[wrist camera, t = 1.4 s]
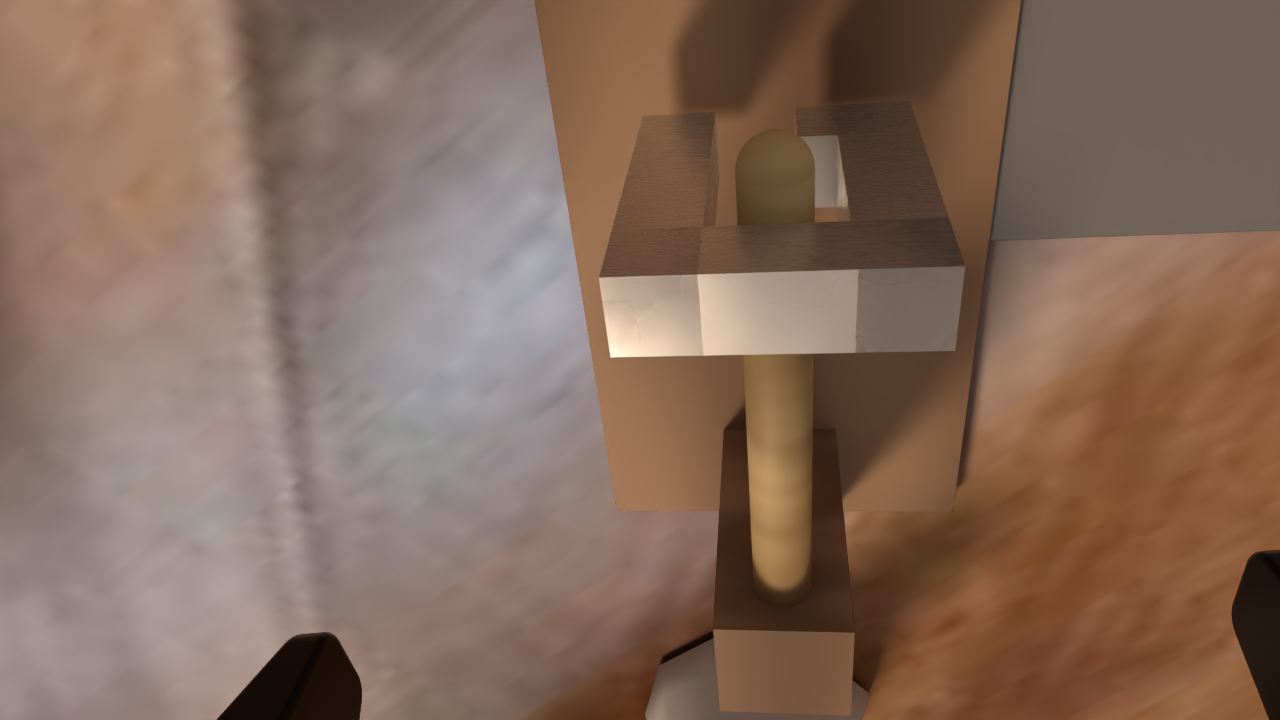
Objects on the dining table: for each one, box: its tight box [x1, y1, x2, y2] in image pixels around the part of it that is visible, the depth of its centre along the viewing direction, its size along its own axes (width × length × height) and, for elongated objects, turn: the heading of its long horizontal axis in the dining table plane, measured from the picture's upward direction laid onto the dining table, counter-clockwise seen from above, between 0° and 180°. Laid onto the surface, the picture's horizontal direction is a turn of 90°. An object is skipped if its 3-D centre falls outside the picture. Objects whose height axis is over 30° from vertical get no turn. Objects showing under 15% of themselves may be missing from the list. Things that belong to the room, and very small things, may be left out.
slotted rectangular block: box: [599, 101, 965, 357], centre depth 16 cm, size 5×1×6 cm, turn 96°
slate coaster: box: [989, 0, 1280, 241], centre depth 17 cm, size 9×9×1 cm
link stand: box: [535, 0, 1021, 716], centre depth 18 cm, size 9×16×7 cm, turn 6°
